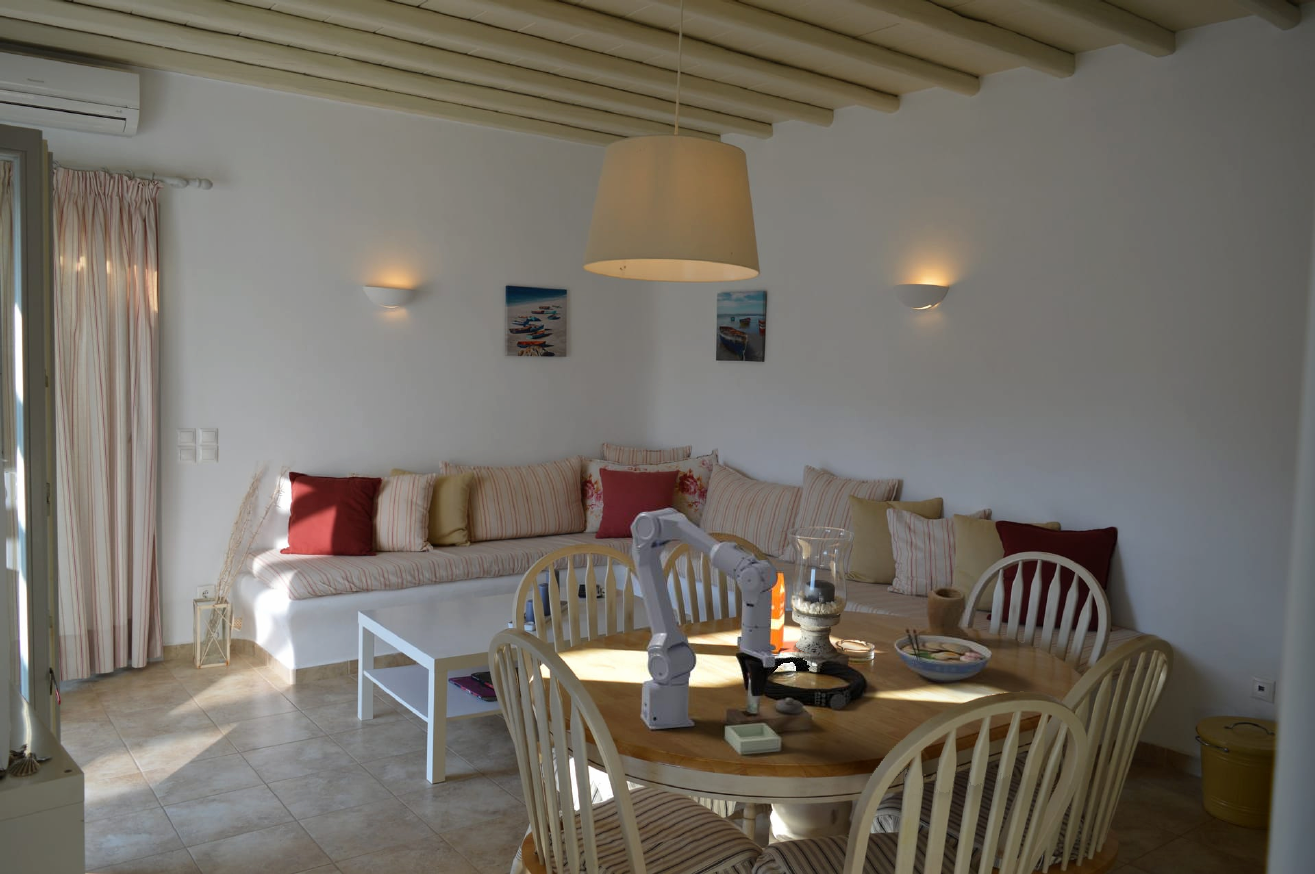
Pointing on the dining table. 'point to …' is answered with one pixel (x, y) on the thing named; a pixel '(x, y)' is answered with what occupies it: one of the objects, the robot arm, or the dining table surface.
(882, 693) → the dining table surface
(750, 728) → the tray
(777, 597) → the orange juice
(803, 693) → the cable lock
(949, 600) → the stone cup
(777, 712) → the block
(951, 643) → the ramen bowl
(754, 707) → the lock pin
